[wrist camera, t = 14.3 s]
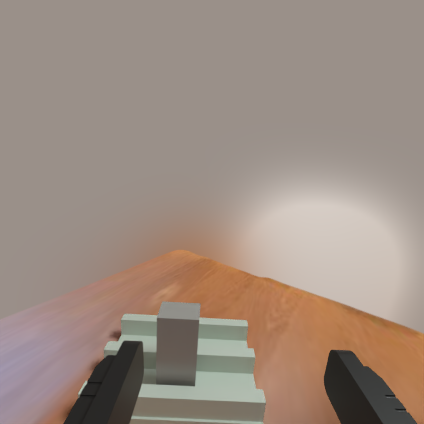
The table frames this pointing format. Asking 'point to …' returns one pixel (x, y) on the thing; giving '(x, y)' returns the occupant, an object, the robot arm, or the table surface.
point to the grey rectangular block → (177, 343)
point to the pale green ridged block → (197, 376)
